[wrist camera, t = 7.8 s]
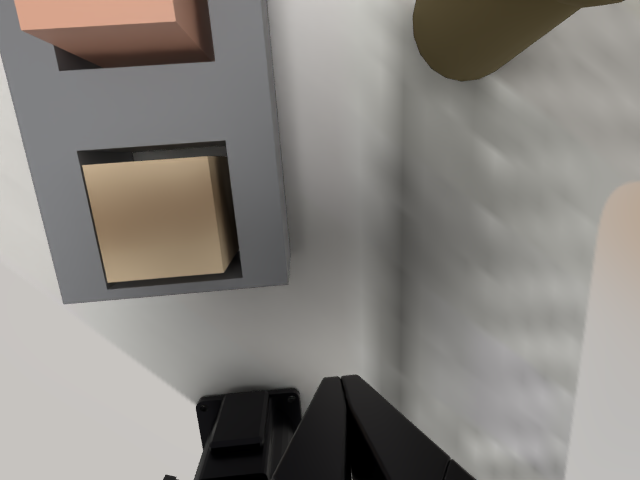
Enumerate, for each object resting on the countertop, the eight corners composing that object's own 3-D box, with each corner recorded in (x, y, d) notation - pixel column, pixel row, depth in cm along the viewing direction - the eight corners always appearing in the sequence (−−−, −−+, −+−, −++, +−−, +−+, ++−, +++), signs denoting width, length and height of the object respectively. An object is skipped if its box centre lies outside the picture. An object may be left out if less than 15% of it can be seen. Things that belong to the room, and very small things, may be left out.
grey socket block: (290, 255, 21) (288, 284, 16) (118, 269, 21) (63, 304, 16) (261, -59, 18) (246, -141, 13) (51, -49, 17) (-46, -129, 12)
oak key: (243, 241, 21) (223, 272, 15) (159, 248, 21) (107, 282, 15) (233, 156, 20) (207, 156, 14) (143, 162, 19) (81, 165, 14)
